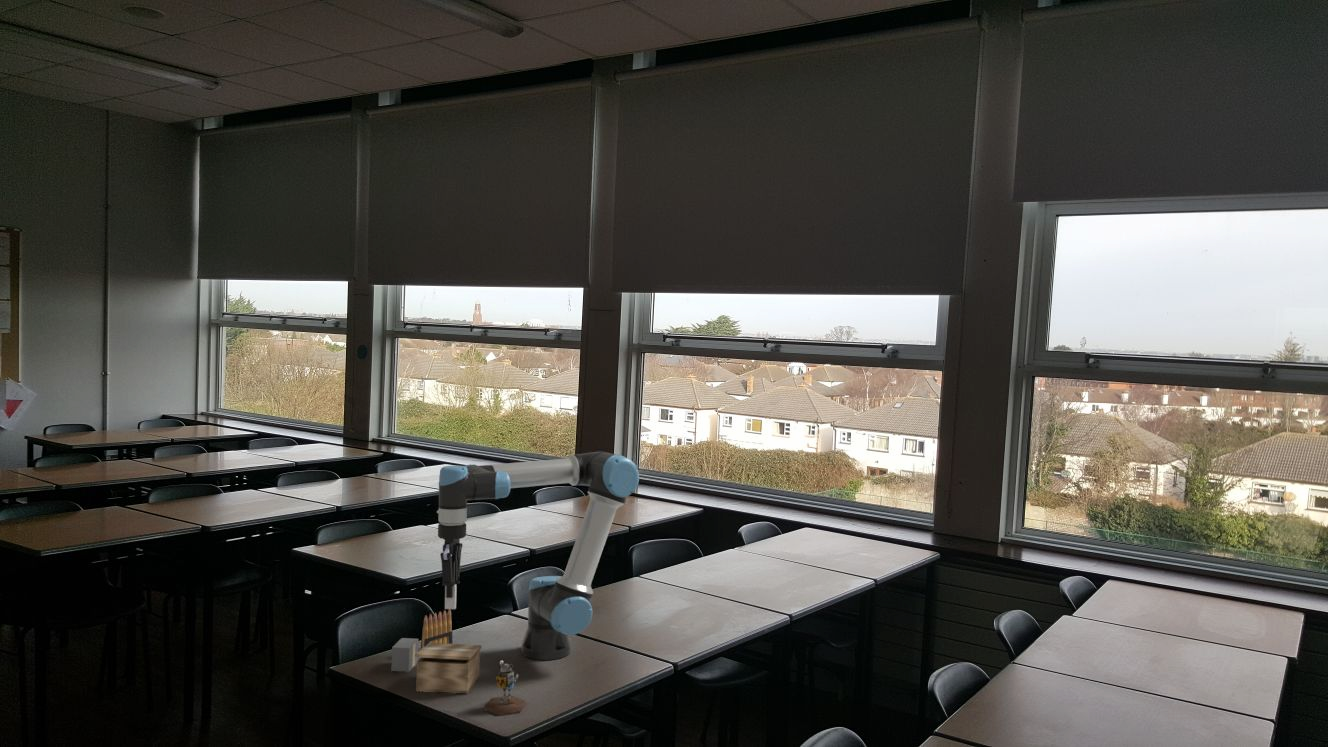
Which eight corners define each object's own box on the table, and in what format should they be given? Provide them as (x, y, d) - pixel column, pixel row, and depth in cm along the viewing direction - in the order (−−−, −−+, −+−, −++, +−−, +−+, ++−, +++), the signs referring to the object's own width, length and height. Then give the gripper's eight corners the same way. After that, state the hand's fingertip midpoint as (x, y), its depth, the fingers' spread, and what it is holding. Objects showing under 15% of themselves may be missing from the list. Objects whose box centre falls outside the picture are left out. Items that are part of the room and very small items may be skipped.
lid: (481, 648, 240) (481, 644, 240) (469, 659, 228) (469, 656, 228) (429, 645, 241) (429, 642, 241) (414, 657, 228) (414, 653, 228)
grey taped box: (418, 662, 250) (418, 638, 250) (408, 672, 242) (409, 648, 242) (400, 661, 251) (401, 638, 250) (391, 671, 243) (391, 647, 242)
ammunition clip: (424, 656, 256) (425, 616, 255) (420, 654, 257) (421, 615, 256) (452, 647, 264) (453, 608, 264) (448, 645, 265) (450, 607, 265)
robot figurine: (533, 708, 221) (535, 662, 221) (506, 719, 214) (508, 672, 214) (505, 696, 228) (506, 651, 228) (477, 706, 221) (479, 661, 221)
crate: (478, 677, 241) (479, 649, 240) (467, 694, 229) (468, 664, 228) (430, 674, 241) (430, 646, 241) (415, 691, 229) (416, 661, 229)
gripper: (445, 517, 240) (444, 600, 240) (431, 527, 227) (429, 615, 227) (472, 518, 239) (470, 601, 240) (459, 528, 226) (457, 616, 227)
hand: (450, 608), depth 234 cm, fingers closed
